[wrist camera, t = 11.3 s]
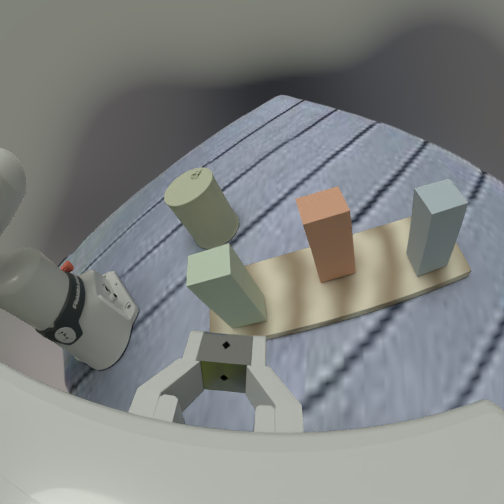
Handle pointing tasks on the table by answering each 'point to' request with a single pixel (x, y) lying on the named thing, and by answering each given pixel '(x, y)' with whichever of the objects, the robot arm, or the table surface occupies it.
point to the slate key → (434, 225)
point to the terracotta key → (328, 233)
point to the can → (202, 208)
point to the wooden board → (341, 284)
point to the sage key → (226, 286)
